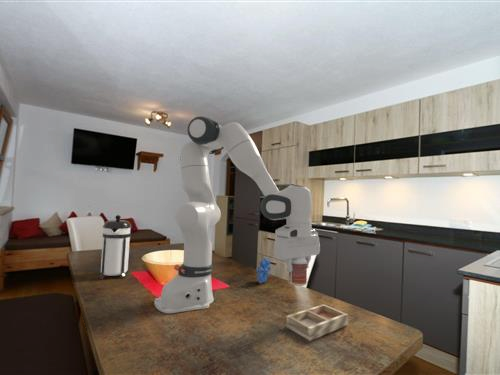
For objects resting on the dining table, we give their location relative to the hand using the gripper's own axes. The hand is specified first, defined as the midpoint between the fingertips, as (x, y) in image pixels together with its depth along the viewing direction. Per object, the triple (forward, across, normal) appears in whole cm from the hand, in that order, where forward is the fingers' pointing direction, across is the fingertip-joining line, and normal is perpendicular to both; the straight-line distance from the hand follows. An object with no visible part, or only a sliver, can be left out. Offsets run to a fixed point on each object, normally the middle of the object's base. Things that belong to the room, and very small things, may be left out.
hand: (297, 269), depth 93 cm
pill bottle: (+5, 0, 0) cm, 5 cm away
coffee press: (+16, +44, -82) cm, 95 cm away
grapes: (+17, -15, -37) cm, 43 cm away
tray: (+17, -2, +8) cm, 19 cm away
